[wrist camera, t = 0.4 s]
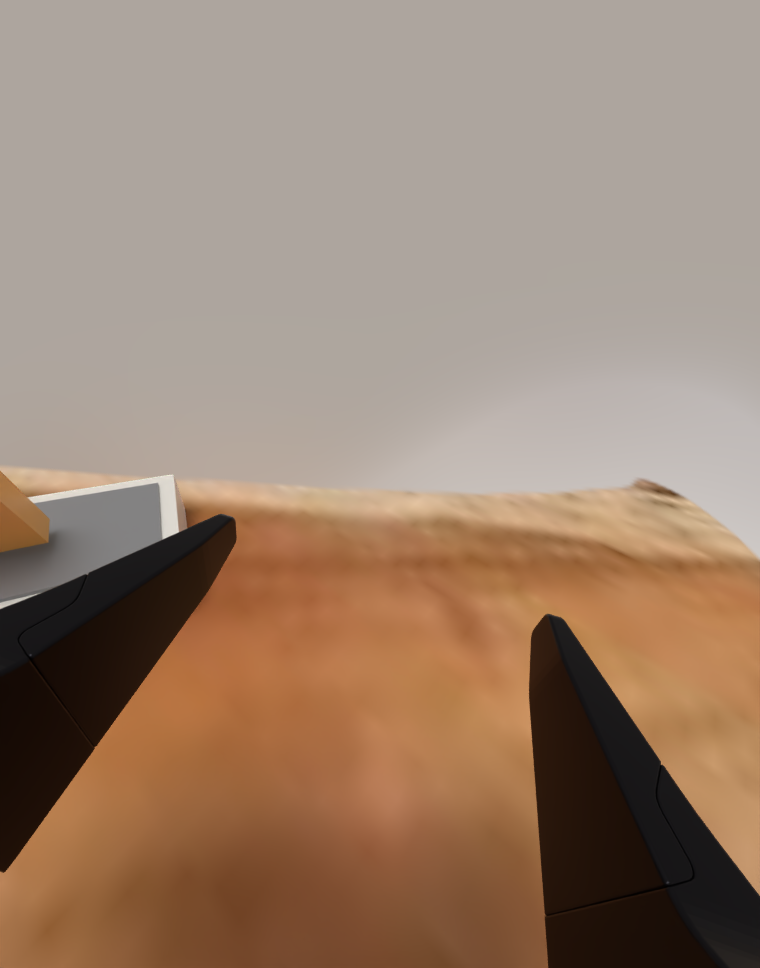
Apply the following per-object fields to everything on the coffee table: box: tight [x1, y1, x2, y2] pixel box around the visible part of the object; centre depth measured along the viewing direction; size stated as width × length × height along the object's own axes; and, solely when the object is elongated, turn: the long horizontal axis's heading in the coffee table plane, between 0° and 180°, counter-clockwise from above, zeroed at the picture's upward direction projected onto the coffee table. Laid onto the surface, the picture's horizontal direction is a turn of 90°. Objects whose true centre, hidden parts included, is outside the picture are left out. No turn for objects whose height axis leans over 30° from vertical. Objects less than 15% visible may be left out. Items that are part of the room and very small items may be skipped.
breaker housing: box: [0, 474, 187, 609], centre depth 23 cm, size 9×18×4 cm, turn 114°
